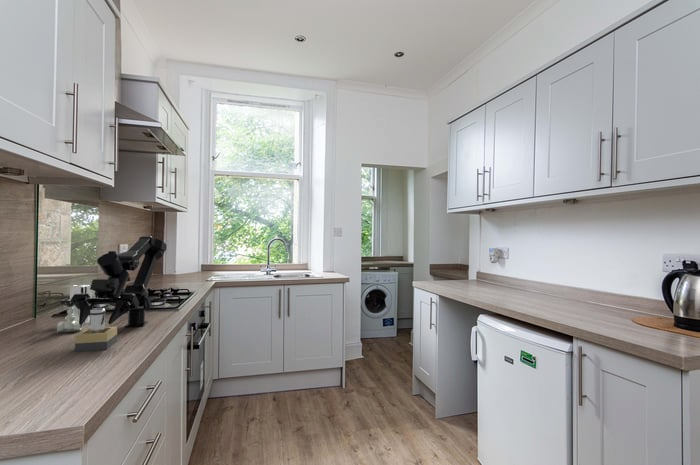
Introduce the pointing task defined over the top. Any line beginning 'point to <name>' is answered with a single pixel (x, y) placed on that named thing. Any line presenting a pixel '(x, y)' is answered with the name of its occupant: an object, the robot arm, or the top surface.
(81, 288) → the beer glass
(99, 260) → the robot arm
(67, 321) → the valve
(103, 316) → the metal tumbler
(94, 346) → the collar block
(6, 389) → the top surface
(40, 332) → the top surface
